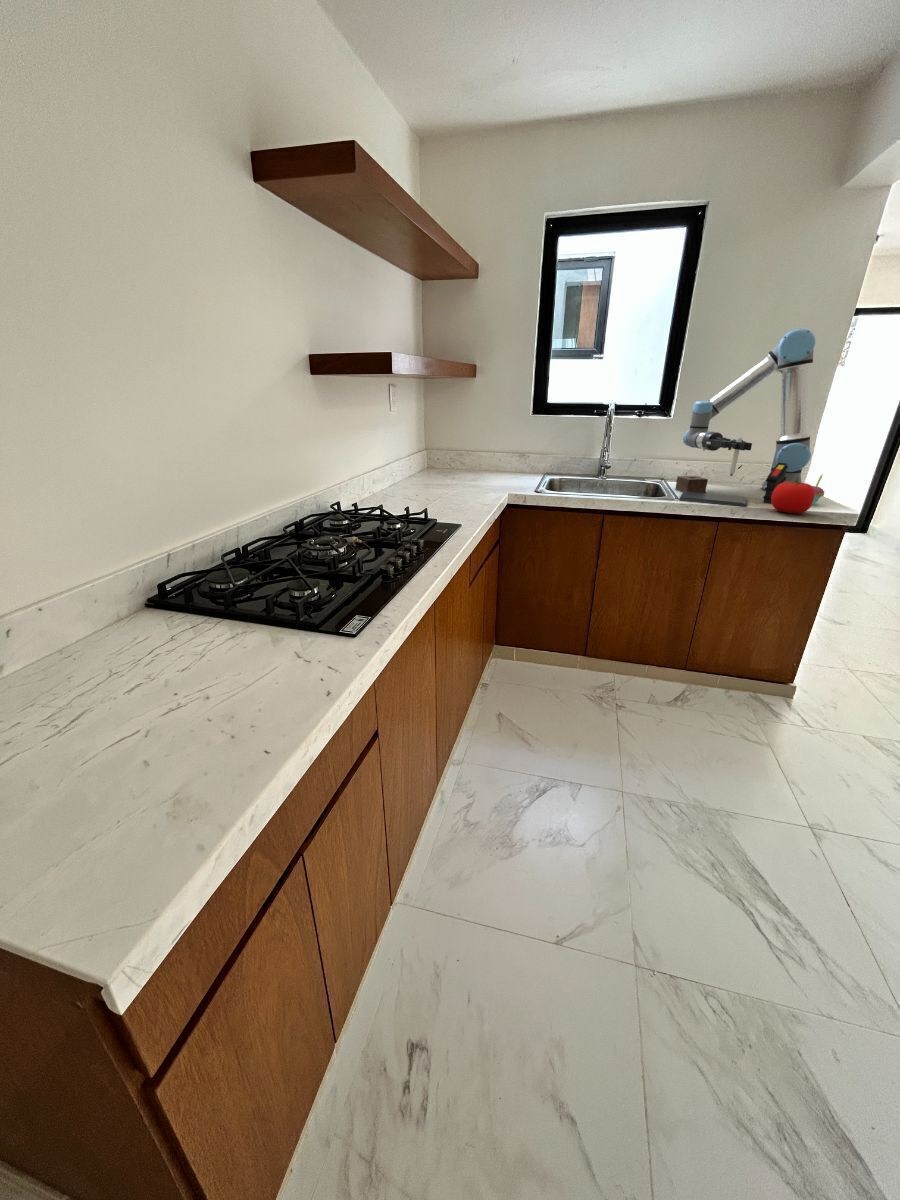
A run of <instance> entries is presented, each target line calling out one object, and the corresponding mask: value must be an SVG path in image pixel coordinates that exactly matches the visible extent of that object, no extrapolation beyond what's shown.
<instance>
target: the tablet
mask: <svg viewBox="0 0 900 1200" xmlns="http://www.w3.org/2000/svg"><path fill="white" fill-rule="evenodd" d="M679 501H682V502H692V503H702V504H703V503H704V504H713V505H723V506H724V505H725V506H734V507H747V496H744V495H732V494H731V495H730V494H723V493H721V494H720V493H719V494H718V493H709V492H705V493H699V492H687V491H684V492H682V494H681V496H680V497H679Z"/></svg>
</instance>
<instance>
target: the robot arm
mask: <svg viewBox="0 0 900 1200" xmlns="http://www.w3.org/2000/svg"><path fill="white" fill-rule="evenodd" d="M781 337H782V338H780V340H779V342H778V343H777V345H776V346H775V347H774V348H772V349H771V350H770V351H768V352H767V353H766V356H765V358H763V359H762V360H760V361H759V362H758V363H756V364H755V365H754V366H753V367H751V368H750V369H749V370H747V371H746V372H745V373H743V374H742V375H741V376H739V377H738V378H736V379H735V380H733V382H731V383H730V384H728V385H727V386H726V387H724V388H723V389H721V391H719V392H717V393H716V394H715V395H714V396H712V397H711V398H710V399H709V400H707V401H703V400H702V401H701V400H700V401H699V400H698V401H697V400H696V401H695V402H694V403H693V407H692V414H691V419H690V425H689V428H688V430H687V431H685V432H684V434H683V437H682V441H683V444H684V445H685V446H687V447H689V448H693V449H694V448H695V449H702V451H703V452H705V451H706V450H707V451H711V452H715V451H717V450H719V449H720V448H721V449H727V451H732V450H735V449H737V450H740V451H751V450H752V447H753V442H747V441H745V440H744V439H742V442H736V441H737V439H735V438H733V439H731V438H728V437H724V436H723V434H722V433H720V432H719V431H718V432H717V431H710V430H709V426H710V421H711V420H712V419H713V418H714V417H716V416H717V415H718V414H720V413H721V412H723V411H724V410H725V409H727V408H729V406H731V405H732V404H733V403H735V402H736V401H738V400H739V399H741V398H742V397H743V396H745V395H747V394H748V393H749V392H750V391H752V390H753V389H754V388H756V387H758V386H759V385H760V384H761V383H763V382H764V381H765V380H767V379H769V378H770V377H771V376H773V375H774V374H776V373H780V374H781V398H780V399H781V401H780V402H781V404H780V435H779V436H778V437H777V438H776V439H775V452H774V455H773V460H772V463H771V468H770V471H769V474H770V473H771V472H772V470H773V469H774V468H775V466H776V465H777V464H778V463H787V466H788V468H787V469H786V474H785V477H786V480H785V481H784V482H791V481H792V482H795V481H797V482H800V483H802V471H803V469H804V468H805V467H806V466H807V465H808V463H809V462H810V461H811V456H812V452H811V435H810V434H809V433H808V432H807V410H808V383H809V382H808V381H809V368H810V367H811V366H812V365H813V364H814V348H815V346H816V337H815V335H814V333H813V332H812V331H811V330H810V329H807V328H795V329H792V330H789V331H788V332H787V333H785V334H784V335H783V336H781ZM769 474H768V475H769ZM767 478H768V476H767V477H766V478H765V480H764V481H763V482H762V485H761V490H763V491H765V492H766V490H765V488H766V487H767V482H766V479H767Z"/></svg>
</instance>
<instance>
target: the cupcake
mask: <svg viewBox="0 0 900 1200" xmlns="http://www.w3.org/2000/svg"><path fill="white" fill-rule="evenodd" d="M823 475H824V474H823V473H821V475H820V476H819V477H818V480H817V482H816V484H815V485H811V486H812V487H813V489H814V500H813V503H812V505H811V506H815V505H816V504H817V503H818V502H819V500H820V499H821V498H822V497H824V496H825V490H824V489H823V488H821V487H820V486H819V484H820V482H821V480H822V478H823Z"/></svg>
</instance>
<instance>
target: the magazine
mask: <svg viewBox="0 0 900 1200" xmlns="http://www.w3.org/2000/svg"><path fill="white" fill-rule="evenodd" d="M787 468H788V466H787V463H778V464H777V465H776V466H775V468H774V469H773V470H772V472H771V473H770V472H769V473H770V474H768V475H767V477H768V478H767V477H766V478H767V479H766V478H765V480H766V482H767V487H766V488H765V490H766V491H765V490H764V491H765V494H764V495H763V496H762V499H763V503H765V504H772V502H771V496H772V493H773V491H774V489H775V488H776V487H777V486H778V485H779V484H781V483H783V482H784V481H785V480H786V477H785V474H786V469H787Z"/></svg>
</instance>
